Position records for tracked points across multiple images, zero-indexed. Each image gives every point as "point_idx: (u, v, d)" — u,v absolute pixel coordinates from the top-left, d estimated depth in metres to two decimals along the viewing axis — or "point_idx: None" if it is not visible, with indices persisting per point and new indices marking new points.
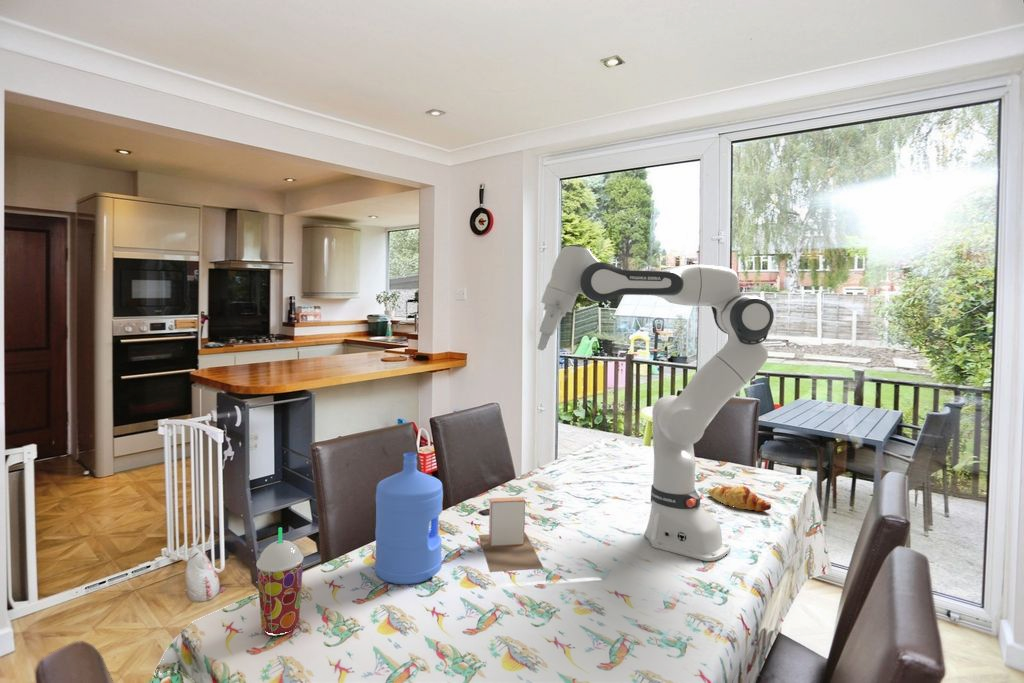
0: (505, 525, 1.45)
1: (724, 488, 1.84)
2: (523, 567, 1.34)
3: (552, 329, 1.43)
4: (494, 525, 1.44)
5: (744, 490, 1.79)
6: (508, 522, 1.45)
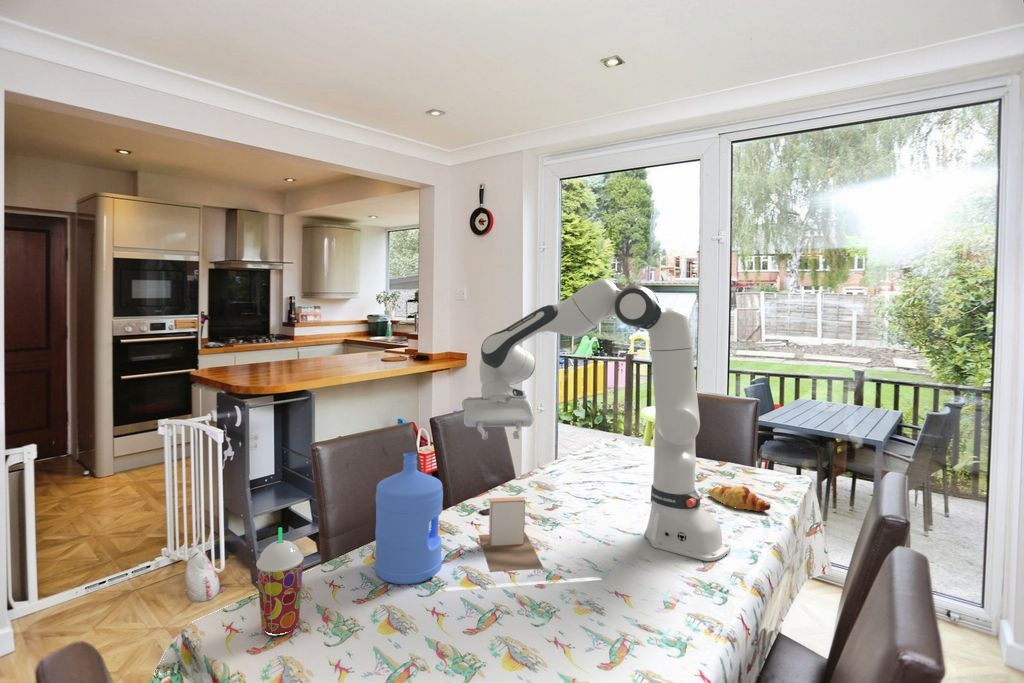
0: (505, 525, 1.45)
1: (724, 488, 1.84)
2: (523, 567, 1.34)
3: (464, 416, 1.58)
4: (494, 525, 1.44)
5: (744, 490, 1.79)
6: (508, 522, 1.45)
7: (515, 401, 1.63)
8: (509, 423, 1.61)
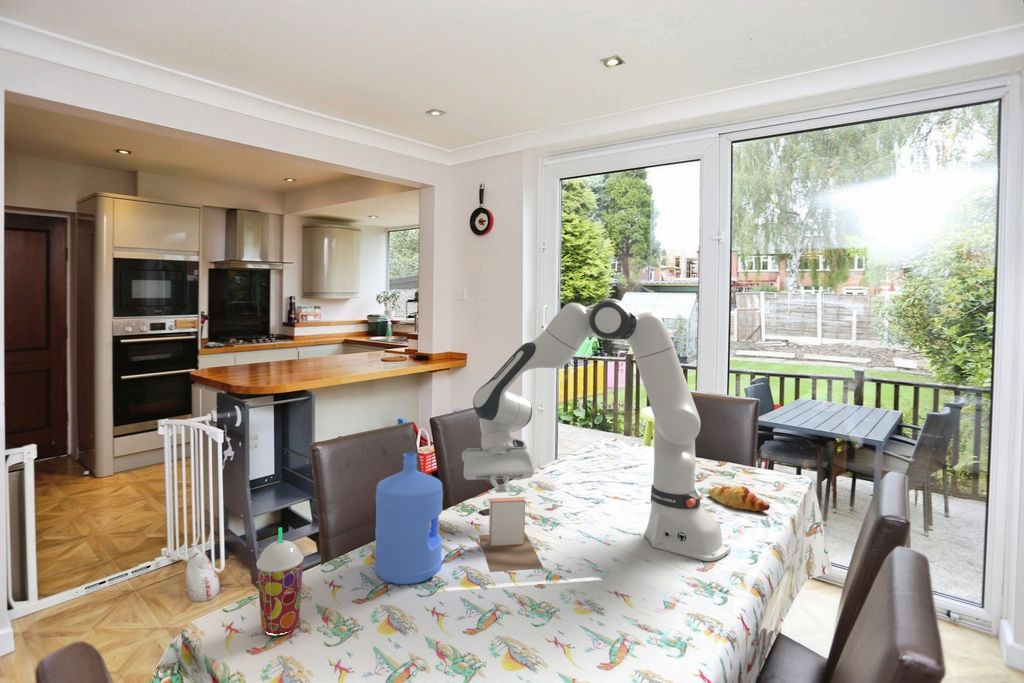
0: (505, 525, 1.45)
1: (723, 488, 1.84)
2: (523, 567, 1.34)
3: (464, 469, 1.56)
4: (494, 525, 1.44)
5: (743, 490, 1.79)
6: (508, 522, 1.45)
7: (515, 452, 1.61)
8: (509, 475, 1.59)
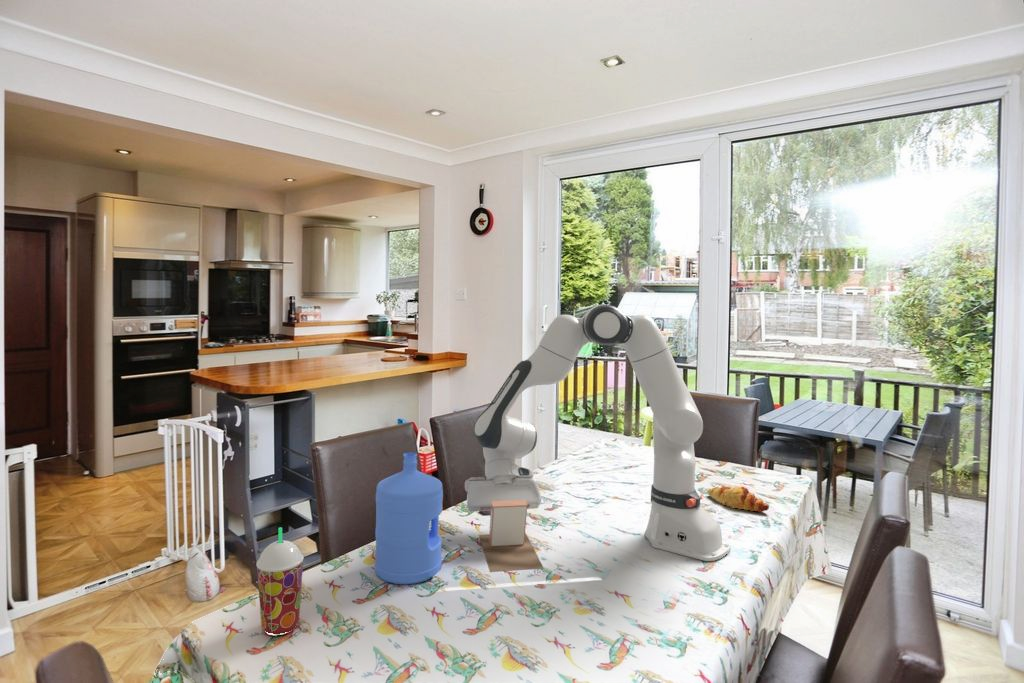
0: (505, 528, 1.43)
1: (723, 488, 1.84)
2: (523, 567, 1.34)
3: (467, 500, 1.48)
4: (495, 528, 1.43)
5: (742, 490, 1.79)
6: (509, 525, 1.43)
7: (521, 481, 1.53)
8: None
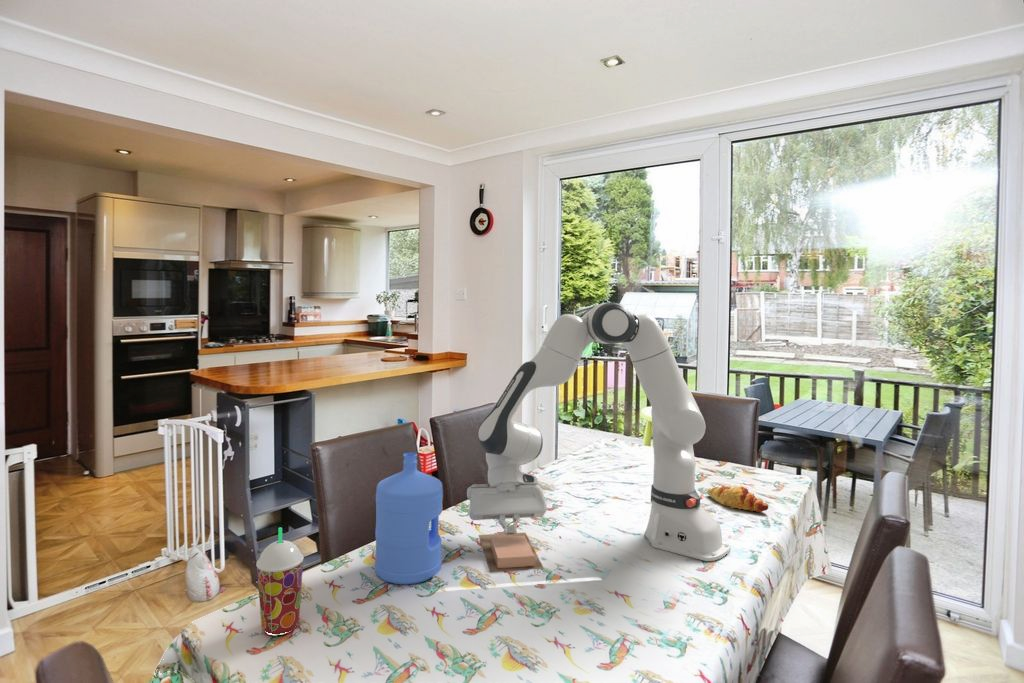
0: None
1: (722, 488, 1.84)
2: (523, 567, 1.34)
3: (470, 509, 1.42)
4: None
5: (742, 490, 1.79)
6: None
7: (526, 488, 1.47)
8: (519, 514, 1.45)
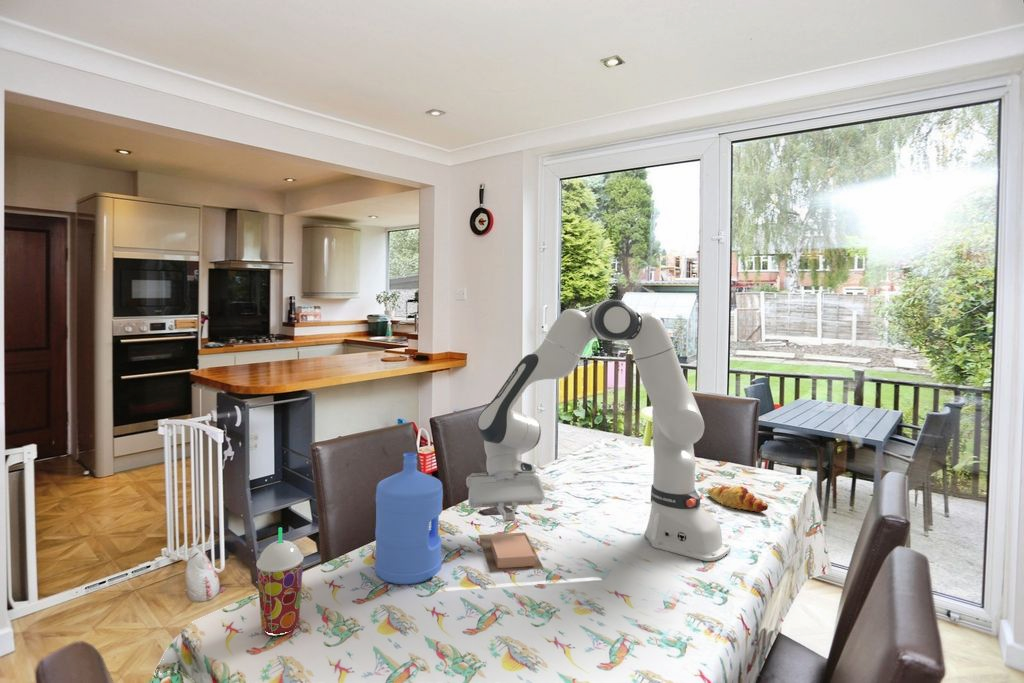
0: None
1: (722, 488, 1.84)
2: (523, 567, 1.34)
3: (469, 497, 1.45)
4: None
5: (741, 490, 1.79)
6: None
7: (524, 477, 1.50)
8: (518, 501, 1.48)
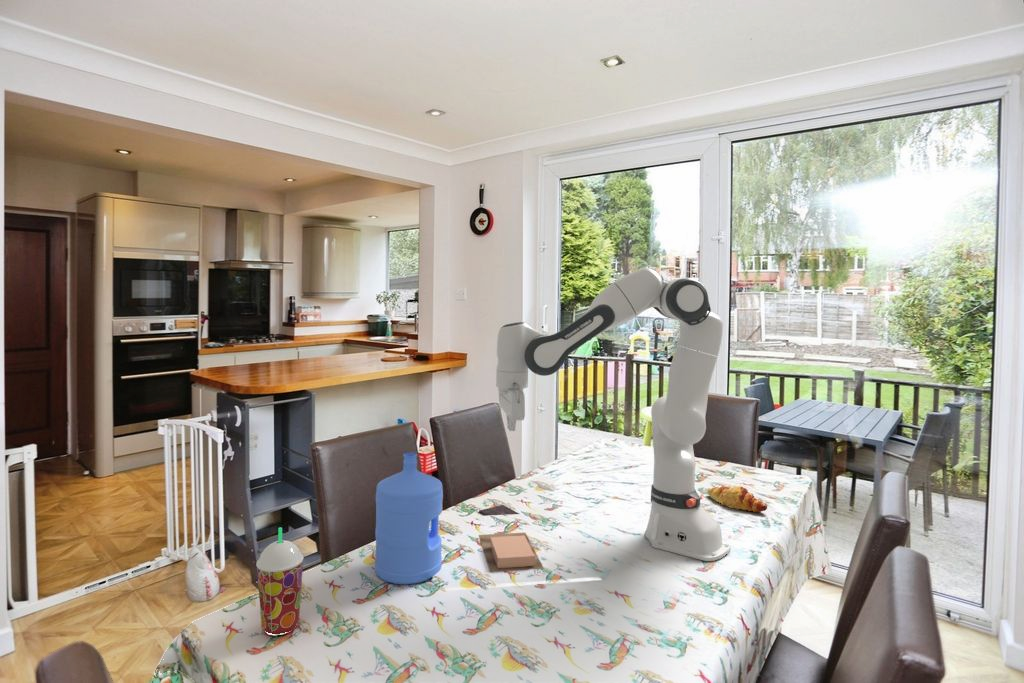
0: None
1: (722, 488, 1.84)
2: (523, 567, 1.34)
3: (523, 414, 1.45)
4: None
5: (741, 490, 1.79)
6: None
7: None
8: None
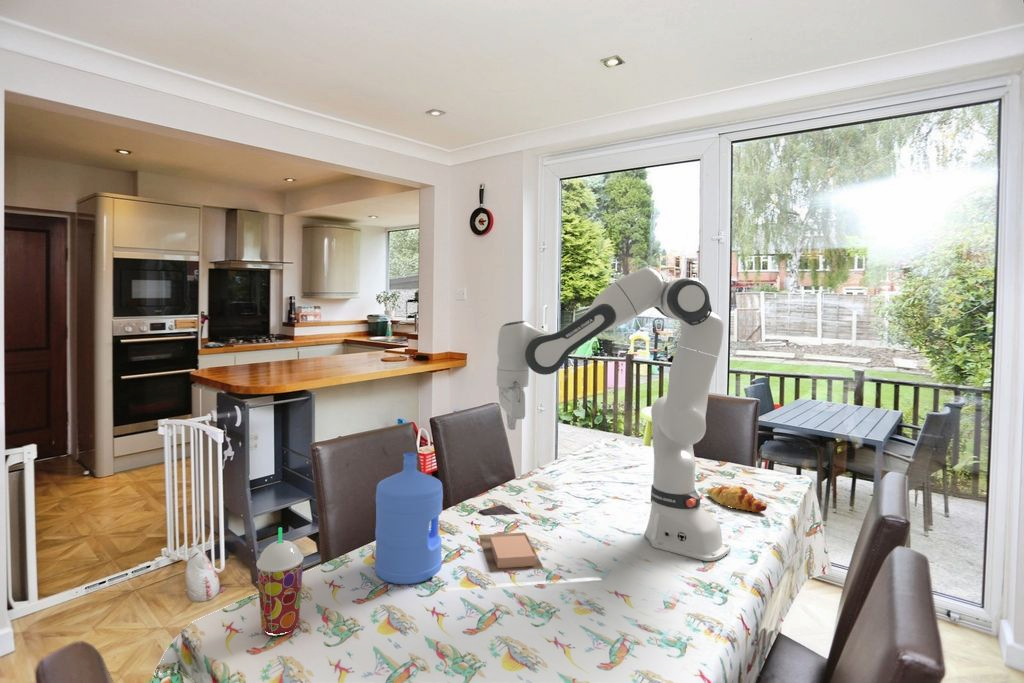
0: None
1: (721, 488, 1.84)
2: (523, 567, 1.34)
3: (524, 413, 1.45)
4: None
5: (740, 490, 1.79)
6: None
7: None
8: None
